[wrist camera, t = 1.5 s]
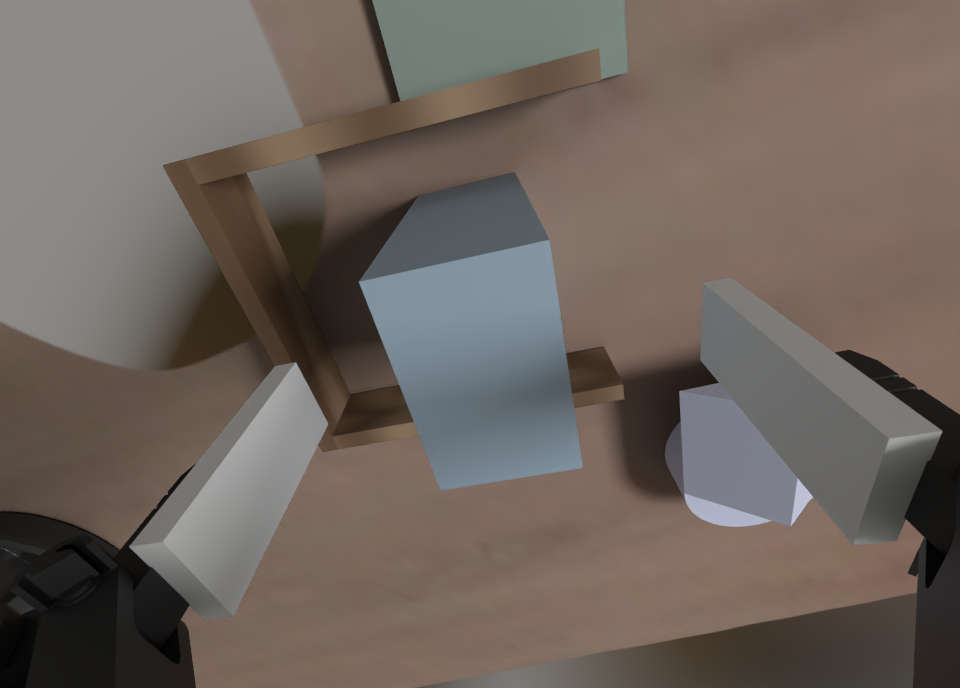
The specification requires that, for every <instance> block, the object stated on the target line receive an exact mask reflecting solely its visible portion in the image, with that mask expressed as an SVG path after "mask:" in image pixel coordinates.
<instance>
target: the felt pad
mask: <svg viewBox="0 0 960 688" xmlns="http://www.w3.org/2000/svg"><path fill="white" fill-rule="evenodd" d="M372 1H373V5H374V8H375V12H376V15H377V19H378V23H379V26H380V30H381V33H382V37H383V41H384V44H385V48H386V51H387V55H388V59H389V62H390V66H391V69H392V73H393V77H394V80H395V84H396V87H397V91H398V95H399V98H400V101H404V100H407V99H411V98H415V97H419V96H422V95H426V94H430V93H433V92H437V91H441V90H445V89H448V88H452V87H456V86H459V85H463V84H467V83H471V82H474V81H478V80H482V79H485V78H489V77H493V76H497V75H500V74H504V73H508V72H512V71H515V70H519V69H523V68H526V67H530V66H534V65H538V64H541V63H545V62H549V61H552V60H556V59H560V58H564V57H567V56H571V55H575V54H578V53H582V52H586V51H590V50H593V49H597V48H599V52H600V66H601V79H604V78H608V77H612V76H616V75H620V74H623V73H627V72H628V70H627V48H626V25H625V3H624V0H372Z"/></svg>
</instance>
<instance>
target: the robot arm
mask: <svg viewBox="0 0 960 688" xmlns="http://www.w3.org/2000/svg"><path fill="white" fill-rule="evenodd" d="M700 360H701V362H702V363H703V364H704V365H705V366H706V368H707V369H708V370H709V371H710V372H711V374H712V375H713V376H714V377H715V379H716V380H717V381H718V382H719V383H720V385H721V386H722V387H723V388H724V389H725V391H726V392H727V393H728V394H729V395H730V397H731V398H732V399H733V400H734V402H735V403H736V404H737V405H738V406H739V408H740V409H741V410H742V411H743V412H744V414H745V415H746V416H747V417H748V419H749V420H750V421H751V422H752V423H753V425H754V426H755V427H756V428H757V429H758V431H759V432H760V433H761V434H762V436H763V437H764V438H765V439H766V440H767V442H768V443H769V444H770V445H771V446H772V448H773V449H774V450H775V451H776V453H777V454H778V455H779V456H780V457H781V459H782V460H783V461H784V462H785V463H786V465H787V466H788V467H789V468H790V470H791V471H792V472H793V473H794V474H795V476H796V477H797V478H798V479H799V480H800V482H801V483H802V484H803V485H804V486H805V488H806V489H807V490H808V491H809V493H810V494H811V495H812V496H813V497H814V499H815V500H816V501H817V502H818V503H819V505H820V506H821V507H822V508H823V510H824V511H825V512H826V513H827V514H828V516H829V517H830V518H831V519H832V520H833V522H834V523H835V524H836V525H837V527H838V528H839V529H840V530H841V531H842V533H843V534H844V535H845V536H846V537H847V539H848V540H849V541H850V542H851V544H852V545H859V544H867V543H876V542H885V541H894V540H897V539H898V536H899V534H900V532H901V529H902V527H903V525H904V522H905V520H906V519H907V520H908V521H909V522H910V523H911V524H912V525H913V526H914V527H915V528H916V529H917V530H918V531H919V532H920V533H921V534H922V535H923V536H924V539H923V541H922V543H921V546H920V548H919V550H918V552H917V554H916V556H915V558H914V561H913V563H912V565H911V567H910V569H909V571H908V574H911V575H913V576H917V574H918V585H917V608H916V631H915V654H914V677H913V688H960V415H959V414H958V413H956V412H955V411H953V410H952V409H950V408H949V407H947V406H946V405H944V404H943V403H941V402H940V401H938V400H937V399H935V398H934V397H932V396H931V395H929V394H928V393H926V392H925V391H923V390H922V389H921V390H918V389H917V386H916V385H914V384H912V383H911V382H909V381H908V380H906V379H905V378H903V377H902V378H900V377H899V374H897V373H896V372H894V371H893V370H891V369H890V368H888V367H887V366H885V365H884V364H882V363H881V362H879V361H878V360H875V359H873V358H870V357H867V356H864V355H862V354H859V353H856V352H854V351H851V350H847V351H841V352H835V353H834V352H833V351H831V350H830V349H828V348H827V347H826V346H824V345H823V344H821V343H820V342H819V341H817V340H816V339H815V338H813V337H812V336H810V335H809V334H808V333H806V332H805V331H803V330H802V329H801V328H799V327H798V326H797V325H795V324H794V323H792V322H791V321H790V320H788V319H787V318H785V317H784V316H783V315H781V314H780V313H779V312H777V311H776V310H774V309H773V308H772V307H770V306H769V305H767V304H766V303H765V302H763V301H762V300H761V299H759V298H758V297H756V296H755V295H754V294H752V293H751V292H749V291H748V290H747V289H745V288H744V287H743V286H741V285H740V284H738V283H737V282H736V281H734V280H733V279H732V278H726V279H721V280H716V281H711V282H706V283H703V303H702V328H701V353H700ZM327 426H328V422H327V420H326V418H325V417H324V415H323V413H322V411H321V409H320V407H319V405H318V403H317V401H316V399H315V398H314V396H313V394H312V392H311V390H310V388H309V386H308V384H307V382H306V380H305V379H304V377H303V375H302V373H301V371H300V369H299V367H298V365H297V363H296V362H294V363H289V364H284V365H279V366H275V367H274V368H273V369H272V371H271V372H270V373H269V374H268V375H267V377H266V378H265V379H264V380H263V382H262V383H261V384H260V385H259V387H258V388H257V389H256V390H255V392H254V393H253V394H252V395H251V397H250V398H249V399H248V400H247V401H246V403H245V404H244V405H243V406H242V408H241V409H240V410H239V411H238V413H237V414H236V415H235V416H234V418H233V419H232V420H231V421H230V423H229V424H228V425H227V426H226V427H225V429H224V430H223V431H222V432H221V434H220V435H219V436H218V437H217V439H216V440H215V441H214V442H213V444H212V445H211V446H210V447H209V449H208V450H207V451H206V452H205V453H204V455H203V456H202V457H201V458H200V460H199V461H198V462H197V463H196V464H195V465H193V466H192V467H191V468H190V469H189V470H187V471H186V472H185V473H184V474H183V475H181V477H180V478H179V479H178V480H177V481H176V483H175V484H174V485H173V486H172V488H171V489H170V490H169V491H168V495H165V496H164V497H163V498H162V500H161V501H160V502H159V503H158V505H157V509H153V511H152V512H151V513H150V514H149V515H148V517H147V518H146V519H145V520H144V522H143V523H142V524H141V525H140V526H139V528H138V529H137V530H136V531H135V533H134V534H133V535H132V536H131V537H130V539H129V540H128V541H127V542H126V543H125V545H124V546H123V547H122V548H121V550H120V551H118V550H117V549H115V548H114V547H112V546H111V545H109V544H108V543H106V542H104V541H103V540H101V539H99V538H97V537H96V536H94V535H92V534H89V533H87V532H85V531H83V530H81V529H78V528H76V527H73V526H70V525H67V524H65V523H61V522H58V521H55V520H51V519H47V518H43V517H38V516H33V515H27V514H18V513H0V688H196V685H195V677H194V670H193V662H192V654H191V647H190V639H189V631H188V629H187V627H186V625H185V623H184V622H182V621H181V618H182V616H183V615H184V613H185V611H186V610H187V608H188V606H190V607H191V608H192V609H193V610H194V611H195V612H197V613H198V614H199V615H200V616H201V617H202V618H203V619H211V618H220V617H229V616H234V614H235V612H236V610H237V607H238V605H239V603H240V601H241V599H242V597H243V595H244V593H245V591H246V589H247V587H248V585H249V583H250V581H251V579H252V577H253V575H254V573H255V571H256V569H257V567H258V565H259V563H260V561H261V559H262V557H263V555H264V553H265V551H266V549H267V547H268V545H269V543H270V541H271V539H272V537H273V535H274V533H275V531H276V529H277V527H278V525H279V523H280V521H281V519H282V517H283V515H284V513H285V511H286V509H287V507H288V505H289V503H290V501H291V499H292V497H293V495H294V493H295V491H296V489H297V487H298V485H299V483H300V480H301V478H302V476H303V474H304V472H305V470H306V468H307V466H308V464H309V462H310V460H311V458H312V456H313V454H314V452H315V450H316V448H317V446H318V444H319V442H320V440H321V438H322V436H323V434H324V432H325V430H326V428H327Z"/></svg>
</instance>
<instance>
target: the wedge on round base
mask: <svg viewBox="0 0 960 688" xmlns="http://www.w3.org/2000/svg"><path fill="white" fill-rule="evenodd" d="M679 396H680V416H681V421H680V422H679V423H678V424H677V426H676V427H675V428H674V430H673V431H672V433H671V434H670V436H669V438H668V441H667V443H666V448H665V460H666V464H667V466H668V468H669V470H670V472H671V474H672V476H673V478H674V480H675V482H676V484H677V486H678V488H679V490H680V492H681V494H682V495H683V497H684V499H685V501H686V503H687V505H688V507H689V508H690V510H691V511H692V512H693V513H694V514H695V515H697V516H698V517H699V518H701V519H703V520H705V521H707V522H710V523H713V524H717V525H722V526H731V527H741V526H751V525H757V524H762V523H766V522H769V521H775V522H778V523H781V524H784V525H787V526H792V524H793V523H794V521H795V520H796V518H797V517H798V516H799V514H800V513H801V511H802V510H803V509H804V507H805V506H806V504H807V503H808V502H809V501H810V500H811V499H812V498H813V496H812V495H811V494H810V493H809V491H808V490H807V489H806V488H805V486H804V485H803V484H802V483H801V482H800V480H799V479H798V478H797V477H796V476H795V474H794V473H793V472H792V471H791V470H790V468H789V467H788V466H787V465H786V463H785V462H784V461H783V460H782V459H781V457H780V456H779V455H778V454H777V453H776V451H775V450H774V449H773V448H772V446H771V445H770V444H769V443H768V442H767V440H766V439H765V438H764V437H763V436H762V434H761V433H760V432H759V431H758V429H757V428H756V427H755V426H754V425H753V423H752V422H751V421H750V420H749V419H748V417H747V416H746V415H745V414H744V412H743V411H742V410H741V409H740V408H739V406H738V405H737V404H736V403H735V402H734V400H733V399H732V398H731V397H730V395H729V394H728V393H727V392H726V391H725V389H724V388H723V387H722V386H721V385H720V383H716V384H711V385H707V386H702V387H697V388H692V389H687V390H683V391H679Z"/></svg>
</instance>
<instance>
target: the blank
mask: <svg viewBox="0 0 960 688" xmlns="http://www.w3.org/2000/svg"><path fill="white" fill-rule="evenodd" d="M359 284H360V286H361V289H362V291H363V294H364V296H365V299H366V302H367V304H368V307H369V309H370V312H371V314H372V317H373V319H374V322H375V324H376V327H377V329H378V332H379V335H380V337H381V340H382V342H383V345H384V347H385V350H386V352H387V355H388V357H389V360H390V363H391V365H392V368H393V370H394V373H395V375H396V378H397V380H398V383H399V385H400V388H401V391H402V393H403V396H404V398H405V401H406V403H407V406H408V408H409V411H410V413H411V416H412V419H413V421H414V424H415V426H416V429H417V431H418V434H419V436H420V439H421V441H422V444H423V447H424V449H425V452H426V454H427V457H428V459H429V462H430V464H431V467H432V469H433V472H434V474H435V477H436V480H437V482H438V485H439V487H440V490H447V489H453V488H459V487H466V486H472V485H478V484H485V483H491V482H497V481H503V480H510V479H516V478H522V477H529V476H535V475H541V474H548V473H554V472H560V471H566V470H573V469H579V468H583V465H582V458H581V451H580V445H579V438H578V431H577V424H576V417H575V410H574V404H573V397H572V390H571V383H570V376H569V370H568V363H567V356H566V349H565V342H564V335H563V329H562V322H561V315H560V308H559V301H558V295H557V288H556V281H555V274H554V267H553V260H552V254H551V247H550V240H549V238H548V236H547V234H546V232H545V230H544V228H543V226H542V224H541V222H540V220H539V218H538V216H537V214H536V213H535V211H534V209H533V207H532V205H531V203H530V201H529V199H528V197H527V195H526V193H525V191H524V189H523V187H522V185H521V183H520V181H519V179H518V177H517V176H516V174H515V173H511V174H507V175H503V176H499V177H494V178H490V179H486V180H482V181H478V182H474V183H470V184H465V185H461V186H457V187H453V188H449V189H445V190H441V191H436V192H432V193H428V194H424V195H420V196H418V197H417V199H416V200H415V202H414V203H413V204H412V206H411V207H410V209H409V210H408V212H407V213H406V214H405V216H404V217H403V219H402V220H401V222H400V223H399V225H398V226H397V227H396V229H395V230H394V232H393V233H392V235H391V236H390V238H389V239H388V240H387V242H386V243H385V245H384V246H383V248H382V249H381V251H380V252H379V253H378V255H377V256H376V258H375V259H374V261H373V262H372V264H371V265H370V266H369V268H368V269H367V271H366V272H365V274H364V275H363V277H362V278H361V279H360V281H359Z"/></svg>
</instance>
